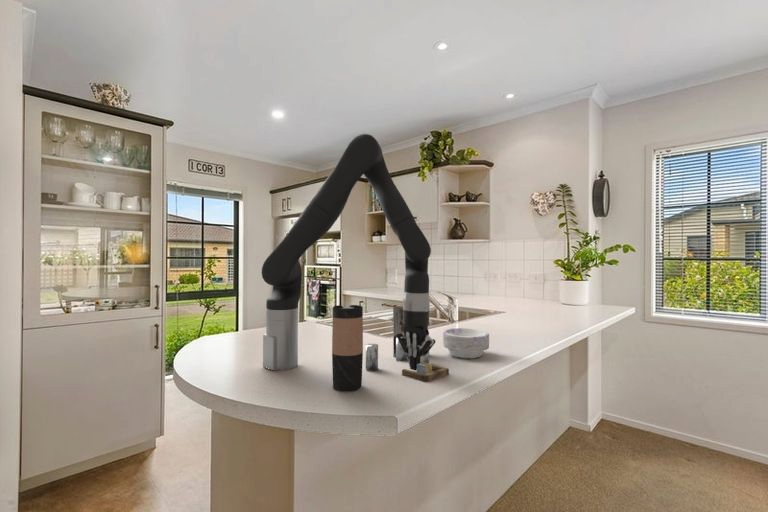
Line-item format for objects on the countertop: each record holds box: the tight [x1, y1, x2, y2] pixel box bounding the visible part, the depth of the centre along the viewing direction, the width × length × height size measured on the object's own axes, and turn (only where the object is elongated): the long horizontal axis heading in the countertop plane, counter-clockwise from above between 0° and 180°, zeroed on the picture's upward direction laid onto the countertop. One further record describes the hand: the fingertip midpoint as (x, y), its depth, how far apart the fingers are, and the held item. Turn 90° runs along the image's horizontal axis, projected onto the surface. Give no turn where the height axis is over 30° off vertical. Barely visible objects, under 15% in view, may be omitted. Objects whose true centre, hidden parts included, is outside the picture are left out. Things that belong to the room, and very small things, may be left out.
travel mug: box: [331, 304, 364, 393], centre depth 94 cm, size 8×8×20 cm
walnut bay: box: [401, 364, 450, 383], centre depth 104 cm, size 10×8×2 cm
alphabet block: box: [416, 362, 433, 374], centre depth 104 cm, size 3×3×3 cm
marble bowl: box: [442, 327, 490, 359], centre depth 126 cm, size 15×15×8 cm
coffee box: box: [392, 305, 410, 358], centre depth 126 cm, size 9×6×16 cm
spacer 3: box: [420, 343, 430, 363], centre depth 115 cm, size 4×4×7 cm
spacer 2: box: [395, 337, 408, 362], centre depth 120 cm, size 4×4×7 cm
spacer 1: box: [365, 343, 379, 372], centre depth 109 cm, size 4×4×7 cm
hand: (414, 369), depth 107 cm, fingers closed
